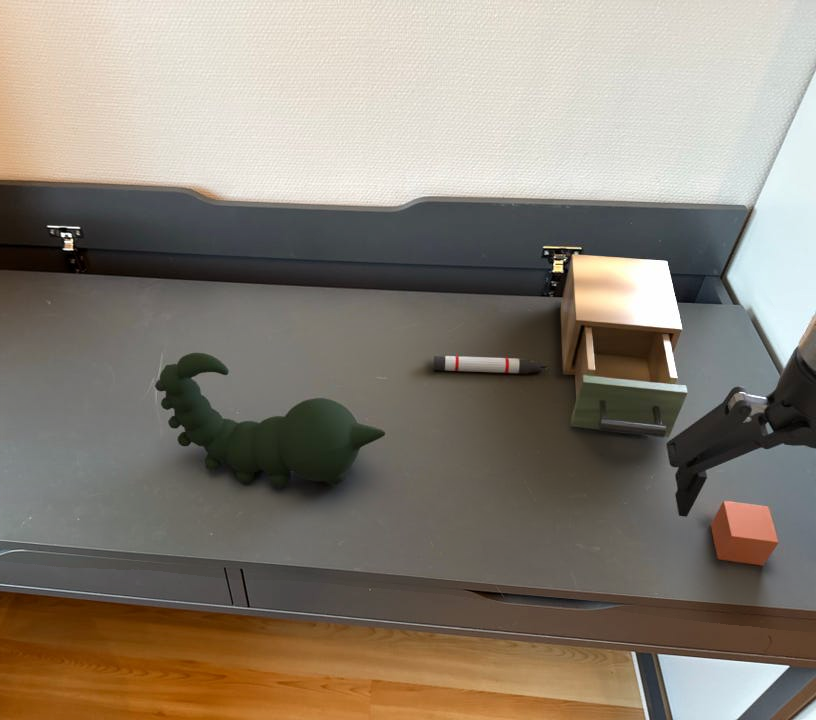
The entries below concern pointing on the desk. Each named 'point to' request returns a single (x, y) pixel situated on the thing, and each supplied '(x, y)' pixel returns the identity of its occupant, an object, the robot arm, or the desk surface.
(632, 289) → the cabinet
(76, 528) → the desk surface
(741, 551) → the block
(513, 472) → the desk surface
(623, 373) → the drawer
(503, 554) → the desk surface
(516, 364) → the marker
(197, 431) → the toy figurine
